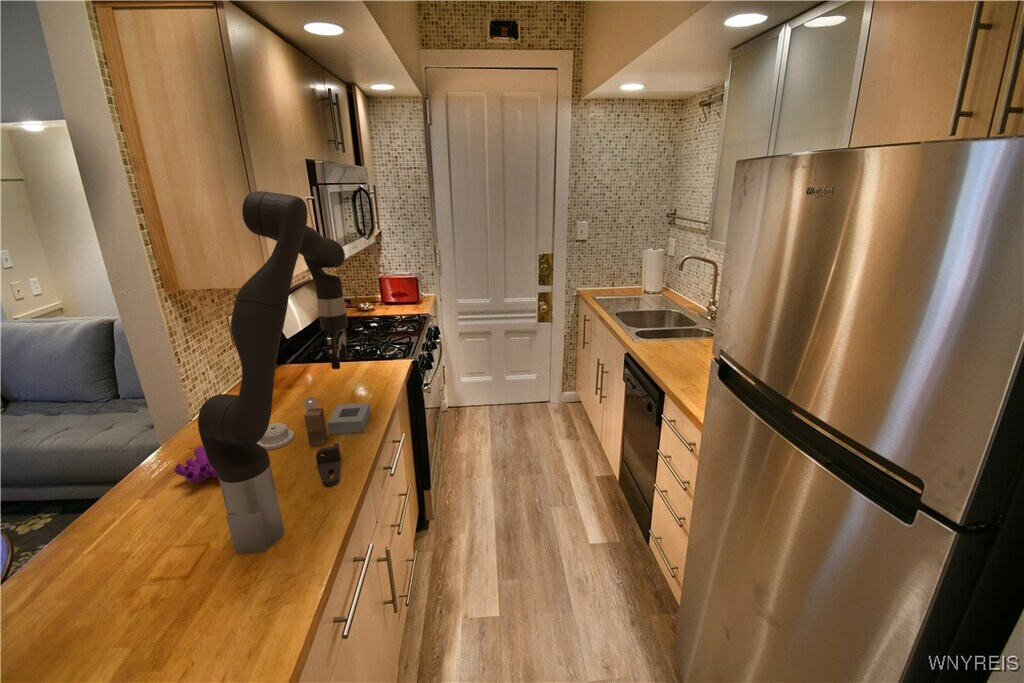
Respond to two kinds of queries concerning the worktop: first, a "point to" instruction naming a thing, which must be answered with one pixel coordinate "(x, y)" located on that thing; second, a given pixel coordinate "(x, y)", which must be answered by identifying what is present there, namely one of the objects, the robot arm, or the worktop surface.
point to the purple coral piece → (196, 467)
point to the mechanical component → (276, 436)
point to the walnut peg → (316, 427)
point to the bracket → (329, 464)
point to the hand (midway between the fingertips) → (339, 363)
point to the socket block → (349, 418)
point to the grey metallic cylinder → (310, 403)
